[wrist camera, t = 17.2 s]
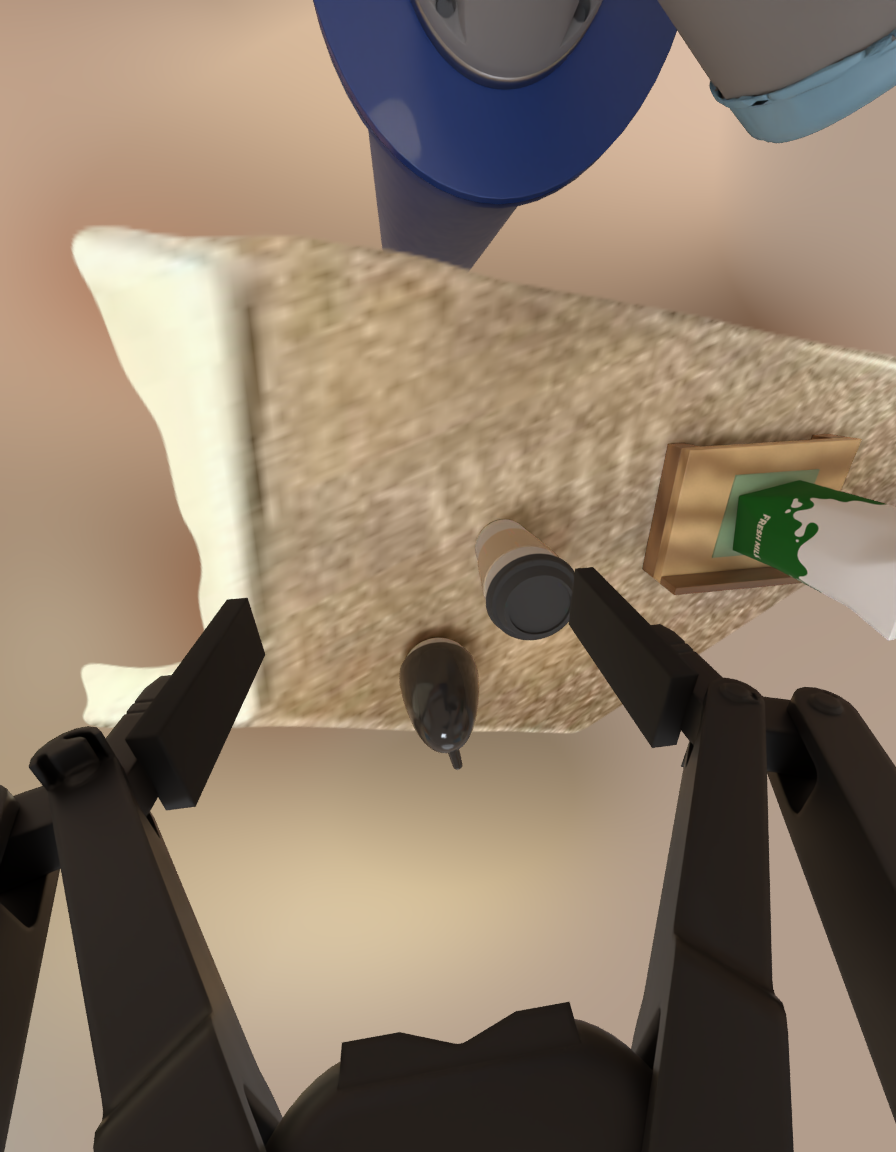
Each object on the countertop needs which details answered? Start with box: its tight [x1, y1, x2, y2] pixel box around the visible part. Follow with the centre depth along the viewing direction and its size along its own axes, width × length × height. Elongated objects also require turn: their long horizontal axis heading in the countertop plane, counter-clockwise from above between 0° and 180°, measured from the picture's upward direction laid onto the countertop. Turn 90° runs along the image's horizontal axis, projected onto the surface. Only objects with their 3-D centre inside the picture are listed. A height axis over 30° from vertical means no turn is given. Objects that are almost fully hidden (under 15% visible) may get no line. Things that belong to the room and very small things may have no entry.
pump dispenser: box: [399, 638, 479, 770], centre depth 49 cm, size 10×10×15 cm
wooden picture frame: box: [643, 434, 862, 595], centre depth 48 cm, size 16×20×7 cm
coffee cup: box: [475, 519, 575, 640], centre depth 43 cm, size 9×9×15 cm
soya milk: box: [733, 480, 896, 640], centre depth 38 cm, size 9×9×20 cm
